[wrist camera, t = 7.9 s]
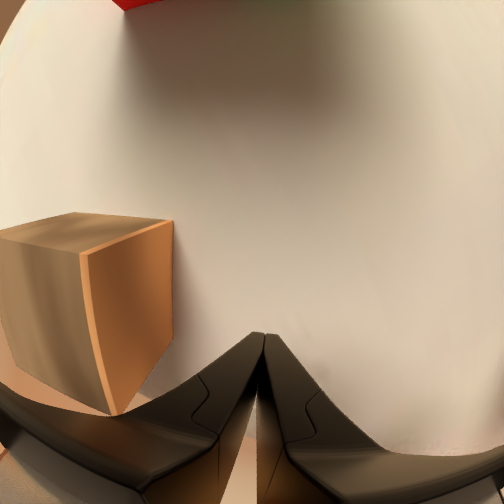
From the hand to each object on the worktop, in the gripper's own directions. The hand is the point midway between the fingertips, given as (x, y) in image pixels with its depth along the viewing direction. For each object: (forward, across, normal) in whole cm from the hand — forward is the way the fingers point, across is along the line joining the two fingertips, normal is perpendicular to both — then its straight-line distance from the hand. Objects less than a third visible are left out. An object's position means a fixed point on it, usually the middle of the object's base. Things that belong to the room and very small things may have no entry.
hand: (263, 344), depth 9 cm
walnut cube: (+1, +4, 0) cm, 5 cm away
